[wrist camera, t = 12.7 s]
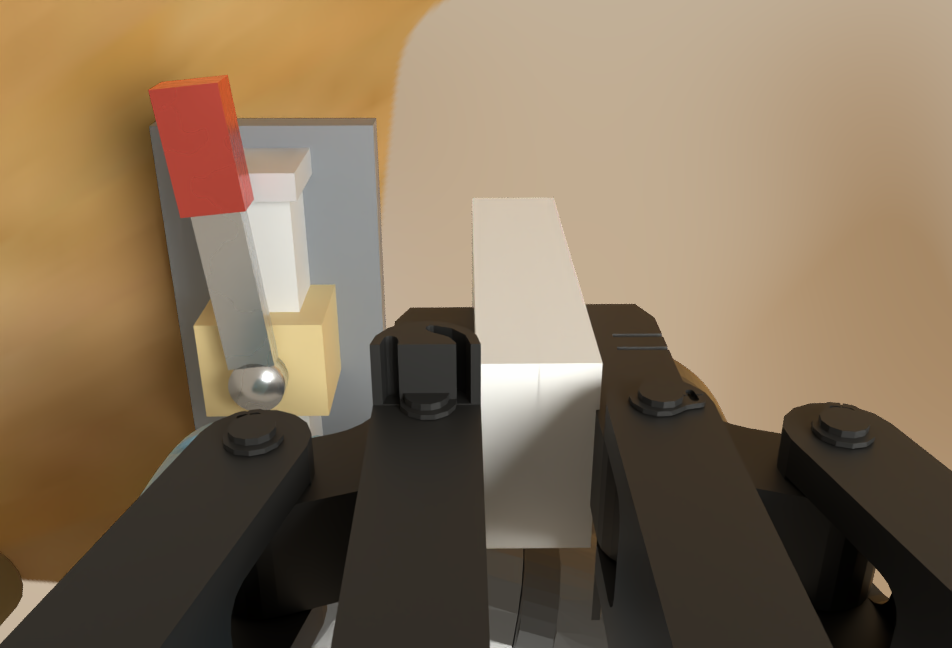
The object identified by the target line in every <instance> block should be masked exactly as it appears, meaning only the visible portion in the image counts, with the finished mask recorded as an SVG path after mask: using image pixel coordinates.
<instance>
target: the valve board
mask: <svg viewBox="0 0 952 648" xmlns="http://www.w3.org/2000/svg"><path fill="white" fill-rule="evenodd" d="M237 121H238V126H239V131H240V136H241V140H242V145H243V150H244V154H245V159H246V164H247V168H248V173H249V178H250V182H251V187H252V192H253V196H254V200H253V202H252V203H251V204H250V206H249V207H248V209H247V212H248V217H249V222H250V226H251V231H252V235H253V240H254V245H255V249H256V254H257V258H258V263H259V267H260V272H261V277H262V281H263V286H264V290H265V295H266V300H267V304H268V309H269V313H270V318H271V323H272V327H273V332H274V336H275V341H276V345H277V350H278V358H280V359H281V360H282V361H283V363H284V364H285V366H286V368H287V370H288V375H289V379H288V384H287V386H286V389H285V392H284V395H283V398H282V400H281V401H280V403H279V404H278V405H277V406H276V407H274V408H273V409H271V410H279V411H283V412H287V413H291V414H295V415H296V416H298V417H299V418H301V419H302V420H304V421H305V422H307V424H308V426H309V429H310V431H311V434H312V436H315V435H319V436H324V435H329V434H334V433H337V432H341V431H345V430H348V429H351V428H353V427H355V426H358V425H360V424H362V423H363V422H365V421H366V420H368V419H370V418H371V413H372V407H373V399H372V381H371V363H370V343H371V342H372V340H373V339H374V337H375V335H377V334H379V333H381V332H382V331H384V330H386V321H385V299H384V277H383V256H382V234H381V213H380V192H379V170H378V149H377V128H376V118H244V119H237ZM149 130H150V136H151V143H152V149H153V156H154V162H155V169H156V175H157V182H158V188H159V195H160V201H161V208H162V215H163V221H164V228H165V234H166V241H167V247H168V254H169V260H170V267H171V273H172V280H173V287H174V293H175V300H176V306H177V313H178V319H179V326H180V332H181V339H182V345H183V352H184V358H185V365H186V372H187V378H188V385H189V391H190V398H191V404H192V411H193V417H194V424H195V430H197V429H199V428H200V427H202V426H204V425H207V424H209V423H212V422H215V421H217V420H220V419H222V418H225V417H227V416H230V415H232V414H234V413H237V412H241V411H249V410H246V409H244V408H242V407H240V406H239V405H238V404H236V403H235V401H234V400H233V399H232V397H231V396H230V393H229V390H228V381H229V378H230V376H231V374H232V372H233V370H228V367H227V363H226V359H225V355H224V351H223V347H222V343H221V339H220V335H219V331H218V326H217V322H216V318H215V314H214V310H213V306H212V302H211V298H210V294H209V290H208V286H207V282H206V278H205V274H204V270H203V266H202V262H201V257H200V253H199V249H198V245H197V241H196V237H195V233H194V229H193V225H192V221H191V217H187V218H180V214H179V210H178V206H177V202H176V198H175V194H174V190H173V186H172V183H171V179H170V175H169V171H168V167H167V163H166V159H165V155H164V151H163V147H162V143H161V139H160V135H159V131H158V127H157V123H156V121H155V122H154V123H153V124H151V125H150V126H149Z"/></svg>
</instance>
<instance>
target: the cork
mask: <svg viewBox="0 0 952 648" xmlns="http://www.w3.org/2000/svg"><path fill="white" fill-rule="evenodd" d="M22 590H23V583H22V580H21V577H20V575H19V572H18V570H17V569H16V568H15V567H14V565H13V564H12V563H11V561H10V560H9V559H8V558H6V557H5V556H4V555H2V554H1V553H0V625H1V624H2V623H3V622H4V621H5V619H6V618H7V617H8V616H9V615H10V614H11V613H12V612H13V611H14V609H15V608H16V607H17V605H18V603H19V602H20V600H21V598H22V592H23V591H22Z"/></svg>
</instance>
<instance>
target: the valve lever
mask: <svg viewBox="0 0 952 648" xmlns="http://www.w3.org/2000/svg"><path fill="white" fill-rule="evenodd" d="M148 91H149V95H150V99H151V103H152V107H153V111H154V115H155V119H156V123H157V127H158V131H159V135H160V139H161V143H162V147H163V151H164V155H165V159H166V163H167V167H168V171H169V175H170V179H171V183H172V186H173V190H174V194H175V198H176V202H177V206H178V210H179V214H180V218H187V217H191V221H192V225H193V229H194V233H195V237H196V241H197V245H198V249H199V253H200V257H201V262H202V266H203V270H204V274H205V278H206V282H207V286H208V290H209V294H210V298H211V302H212V306H213V310H214V314H215V318H216V322H217V326H218V331H219V335H220V339H221V343H222V347H223V351H224V355H225V359H226V363H227V367H228V370H233V372H232V374H231V376H230V378H229V381H228V390H229V393H230V396H231V397H232V399H233V400H234V401H235V403H236V404H238V405H239V406H240V407H242V408H244V409H246V410H254V409H262V410H271V409H273V408H274V407H276V406H277V405H278V404H279V403H280V401H281V400H282V398H283V395H284V392H285V389H286V386H287V384H288V379H289V375H288V370H287V368H286V366H285V364H284V363H283V361H282V360H281V359H280V358H278V350H277V345H276V341H275V336H274V332H273V327H272V323H271V318H270V313H269V309H268V304H267V300H266V295H265V290H264V286H263V281H262V277H261V272H260V267H259V263H258V258H257V254H256V249H255V245H254V240H253V235H252V231H251V226H250V222H249V217H248V212H247V209H248V207H249V206H250V204H251V203H252V202H253V200H254V196H253V192H252V187H251V182H250V178H249V173H248V168H247V164H246V159H245V154H244V150H243V145H242V140H241V136H240V131H239V126H238V121H237V117H236V112H235V107H234V103H233V98H232V93H231V89H230V84H229V79H228V75H222V76H213V77H204V78H194V79H185V80H176V81H166V82H161V83H159V84H157V85H156V86H154V87H152V88H151V89H149V90H148Z"/></svg>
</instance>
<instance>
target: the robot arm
mask: <svg viewBox="0 0 952 648" xmlns="http://www.w3.org/2000/svg"><path fill="white" fill-rule="evenodd" d="M370 363H371V381H372V399H373V407H372V413H371V418H370V419H368V420H366V421H365V422H363V423H362V424H360V425H358V426H355V427H353V428H351V429H348V430H345V431H341V432H337V433H334V434H329V435H324V436H319V435H315V436H312V434H311V431H310V429H309V426H308V424H307V422H305V421H304V420H302V419H301V418H299V417H298V416H296V415H295V414H291V413H287V412H283V411H279V410H262V409H254V410H249V411H241V412H237V413H234V414H232V415H230V416H227V417H225V418H222V419H220V420H217V421H215V422H212V423H209V424H207V425H204V426H202V427H200V428H199V429H197V430H195V431H194V432H192V433H191V434H189V435H188V436H187V437H185V438H184V439H183V440H182V441H181V442H180V443H179V444H178V445H177V446H176V447H175V448H174V449H173V450H172V452H171V453H170V454H169V455H168V457H167V458H166V459H165V460H164V462H163V463H162V464H161V466H160V467H159V468H158V470H157V471H156V473H155V474H154V475H153V477H152V478H151V480H150V481H149V483H148V484H147V486H146V487H145V489H144V490H143V492H142V493H141V495H140V496H139V498H138V499H137V500H136V501H135V502H134V503H133V504H132V505H131V506H130V507H129V508H128V509H127V511H126V512H125V513H124V514H123V515H122V516H121V517H120V518H119V519H118V520H117V521H116V522H115V523H114V524H113V525H112V526H111V527H110V529H109V530H108V531H107V532H106V533H105V534H104V535H103V536H102V537H101V538H100V539H99V540H98V541H97V542H96V543H95V544H94V545H93V547H92V548H91V549H90V550H89V551H88V552H87V553H86V554H85V555H84V556H83V557H82V558H81V559H80V560H79V561H78V562H77V563H76V565H75V566H74V567H73V568H72V569H71V570H70V571H69V572H68V573H67V574H66V575H65V576H64V577H63V578H62V579H61V580H60V581H59V583H58V584H57V585H56V586H55V587H54V588H53V589H52V590H51V591H50V592H49V593H48V594H47V595H46V596H45V597H44V598H43V599H42V601H41V602H40V603H39V604H38V605H37V606H36V607H35V608H34V609H33V610H32V611H31V612H30V613H29V614H28V615H27V616H26V617H25V618H24V620H23V621H22V622H21V623H20V624H19V625H18V626H17V627H16V628H15V629H14V630H13V631H12V632H11V633H10V635H8V637H7V638H6V639H5V640H4V641H3V642H2V643H1V644H0V648H952V471H951V470H950V469H948V468H947V467H946V466H945V465H943V464H942V463H941V462H939V461H938V460H937V459H936V458H934V457H933V456H932V455H931V454H929V453H928V452H927V451H926V450H924V449H923V448H922V447H920V446H919V445H918V444H917V443H915V442H914V441H913V440H912V439H910V438H909V437H908V436H906V435H905V434H904V433H903V432H901V431H900V430H899V429H898V428H896V427H895V426H894V425H892V424H891V423H889V422H888V421H886V420H884V419H882V418H881V417H879V416H877V415H876V414H873V413H871V412H868V411H865V410H861V409H859V408H857V407H856V406H853V405H848V404H843V405H840V403H832V402H827V403H812V404H807V405H804V406H800V407H796V408H793V409H792V410H791V411H790V412H789V413H788V414H787V415H785V416H784V421H783V428H782V433H781V434H780V433H774V432H768V431H762V430H756V429H750V428H746V427H741V426H737V425H733V424H730V423H728V422H727V420H726V418H725V416H724V414H723V412H722V410H721V408H720V406H719V405H718V402H717V401H716V399H715V398H714V396H713V394H712V393H711V392H710V390H709V389H708V387H707V386H706V385H705V384H704V383H703V382H702V381H701V380H700V379H699V378H698V377H697V376H696V375H695V374H694V373H693V372H691V371H690V370H689V369H688V368H686V367H685V366H684V365H682V364H681V363H679V362H677V361H676V360H674V359H673V358H672V356H671V353H670V351H669V350H667V345H666V342H665V340H664V338H663V337H662V334H661V331H660V329H659V327H658V325H657V322H656V320H655V318H654V317H653V316H651V315H650V314H648V313H647V312H645V311H644V310H643V309H641V308H640V307H638V306H637V305H636V304H585V303H584V298H583V295H582V292H581V288H580V285H579V282H578V278H577V275H576V271H575V268H574V265H573V261H572V258H571V255H570V251H569V248H568V245H567V241H566V238H565V235H564V231H563V228H562V224H561V221H560V217H559V214H558V211H557V207H556V204H555V200H554V198H472V307H463V308H462V307H461V308H460V307H453V308H410V309H409V310H408V311H406V312H405V313H404V314H403V315H402V316H401V317H400V318H399V319H398V320H397V321H395V325H394V326H393V327H390V328H387V329H386V330H384V331H382V332H381V333H379V334H377V335H375V337H374V339H373V340H372V342H371V343H370ZM875 568H876V569H877V570H878V571H879V572H880V573H881V575H882V576H883V577H884V579H885V580H886V581H887V583H888V585H889V587H890V589H891V591H892V594H891V596H890V598H888V597H886V596H885V595H884V594H883V593H882V592H881V591H880V590H879V589H878V588H877V587H876V586H875V585H874V584H873V583H872V581H873V577H874V573H875Z"/></svg>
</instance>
